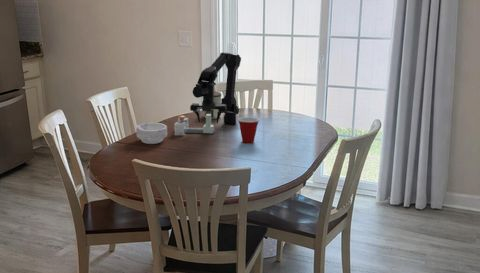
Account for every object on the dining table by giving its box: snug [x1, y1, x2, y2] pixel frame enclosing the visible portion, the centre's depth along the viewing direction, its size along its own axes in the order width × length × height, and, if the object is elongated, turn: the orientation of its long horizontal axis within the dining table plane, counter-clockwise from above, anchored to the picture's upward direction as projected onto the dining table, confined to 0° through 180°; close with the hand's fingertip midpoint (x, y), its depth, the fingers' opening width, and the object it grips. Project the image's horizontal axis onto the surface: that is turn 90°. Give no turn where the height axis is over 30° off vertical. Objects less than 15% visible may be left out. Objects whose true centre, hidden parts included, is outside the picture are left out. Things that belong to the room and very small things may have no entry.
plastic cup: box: [237, 117, 260, 144], centre depth 247 cm, size 11×11×12 cm
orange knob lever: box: [177, 115, 186, 122], centre depth 262 cm, size 4×4×5 cm
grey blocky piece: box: [174, 117, 190, 136], centre depth 263 cm, size 5×14×6 cm, turn 176°
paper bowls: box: [135, 122, 168, 145], centre depth 246 cm, size 15×15×8 cm
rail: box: [186, 127, 215, 134], centre depth 263 cm, size 14×3×2 cm, turn 86°
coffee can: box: [203, 91, 222, 120], centre depth 295 cm, size 10×10×14 cm
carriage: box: [202, 114, 215, 134], centre depth 262 cm, size 5×5×9 cm
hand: (208, 123), depth 262 cm, fingers open, 9 cm apart
